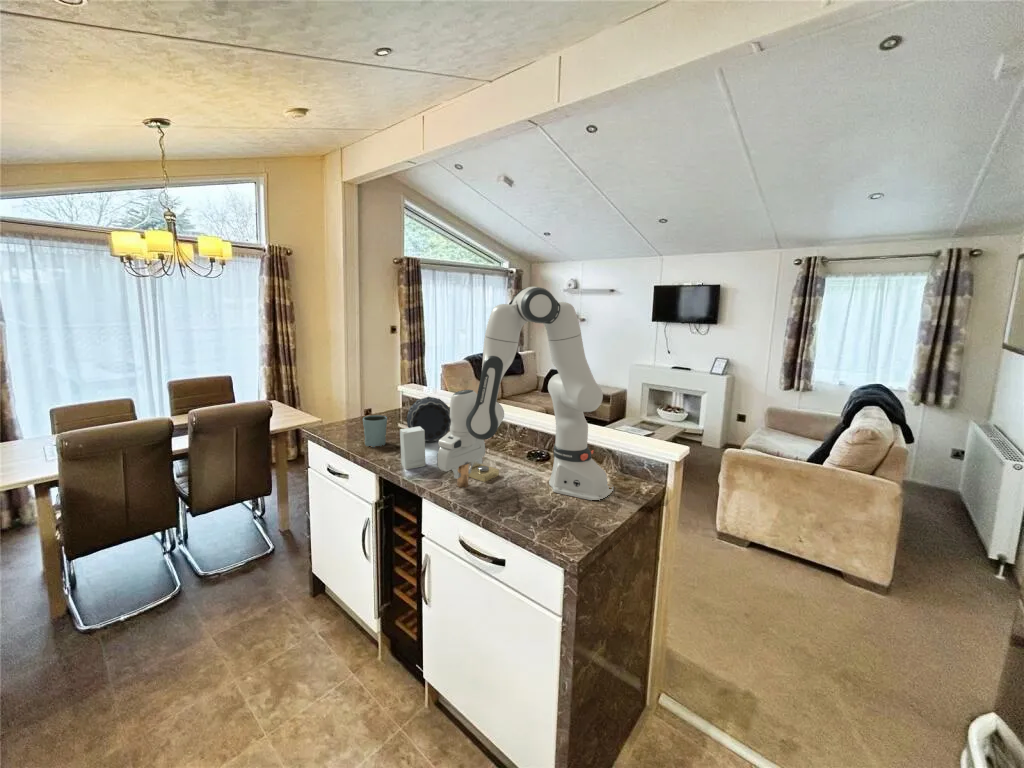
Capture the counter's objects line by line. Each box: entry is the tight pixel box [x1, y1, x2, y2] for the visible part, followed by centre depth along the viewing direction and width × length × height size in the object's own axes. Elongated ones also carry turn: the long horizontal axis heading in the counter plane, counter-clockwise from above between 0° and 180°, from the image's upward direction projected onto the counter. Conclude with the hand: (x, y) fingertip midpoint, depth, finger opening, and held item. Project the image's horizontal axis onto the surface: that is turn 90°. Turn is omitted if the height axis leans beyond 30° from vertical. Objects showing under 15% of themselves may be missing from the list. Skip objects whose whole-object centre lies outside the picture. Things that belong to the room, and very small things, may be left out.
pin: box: [456, 462, 469, 489], centre depth 151 cm, size 4×4×9 cm
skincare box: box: [399, 426, 427, 471], centre depth 168 cm, size 8×6×15 cm
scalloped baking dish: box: [406, 396, 451, 443], centre depth 199 cm, size 11×20×20 cm, turn 107°
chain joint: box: [436, 452, 500, 483], centre depth 165 cm, size 24×8×6 cm, turn 53°
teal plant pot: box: [362, 414, 388, 448], centre depth 193 cm, size 10×10×12 cm
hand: (462, 475), depth 152 cm, fingers closed on pin, 4 cm apart
